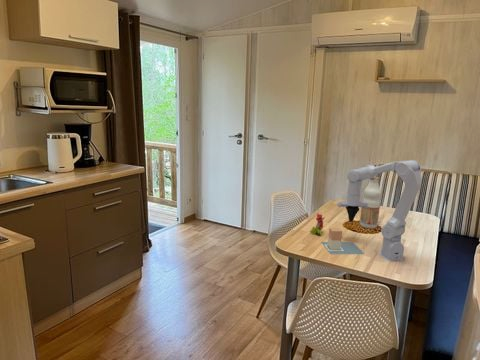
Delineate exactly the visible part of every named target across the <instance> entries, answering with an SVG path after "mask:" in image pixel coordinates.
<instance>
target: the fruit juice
mask: <svg viewBox="0 0 480 360" xmlns="http://www.w3.org/2000/svg"><path fill="white" fill-rule="evenodd" d="M368 180H369V181H368V183H367V185H366V187H365V188H364V189H363V198H362V201H361V202H364V203H368V207H360V209H361V210H360V217H359V218H360V219H359V226H360V225H361V226H360V227H362V228H365V229H371V230H372V229H377V228H378V223H379V217H380V208H381V200H380V199H381V197H382V190H381V188H380V184H379V181H380V177H378V176H376V177H374V178H370V179H368Z"/></svg>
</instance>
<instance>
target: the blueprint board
mask: <svg viewBox="0 0 480 360" xmlns="http://www.w3.org/2000/svg"><path fill="white" fill-rule="evenodd" d="M320 243H321V244H322V245H323V246H324V248H325V249H326V250H327V252H328V253H329V254H330V255H365V252H363V250H361V248H360V247H358V245H356V244H355V243H354V242H353V241H341V248H340V250H331V249H330V248H329V247H328V241H321V242H320Z"/></svg>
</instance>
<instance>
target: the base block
mask: <svg viewBox="0 0 480 360" xmlns="http://www.w3.org/2000/svg"><path fill="white" fill-rule="evenodd" d="M327 240H328V241H327V242H328V247H329V248H330V249H331V250H340V248H341V242H342V240H341V241H332V240H331V239H330V238H329V237H328V238H327Z"/></svg>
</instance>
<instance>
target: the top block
mask: <svg viewBox="0 0 480 360" xmlns="http://www.w3.org/2000/svg"><path fill="white" fill-rule="evenodd" d="M342 237H343V230H342V229H341V228H340V227H329V229H328V238H330V239H331V240H332V241H341V242H342V240H343V238H342Z"/></svg>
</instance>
